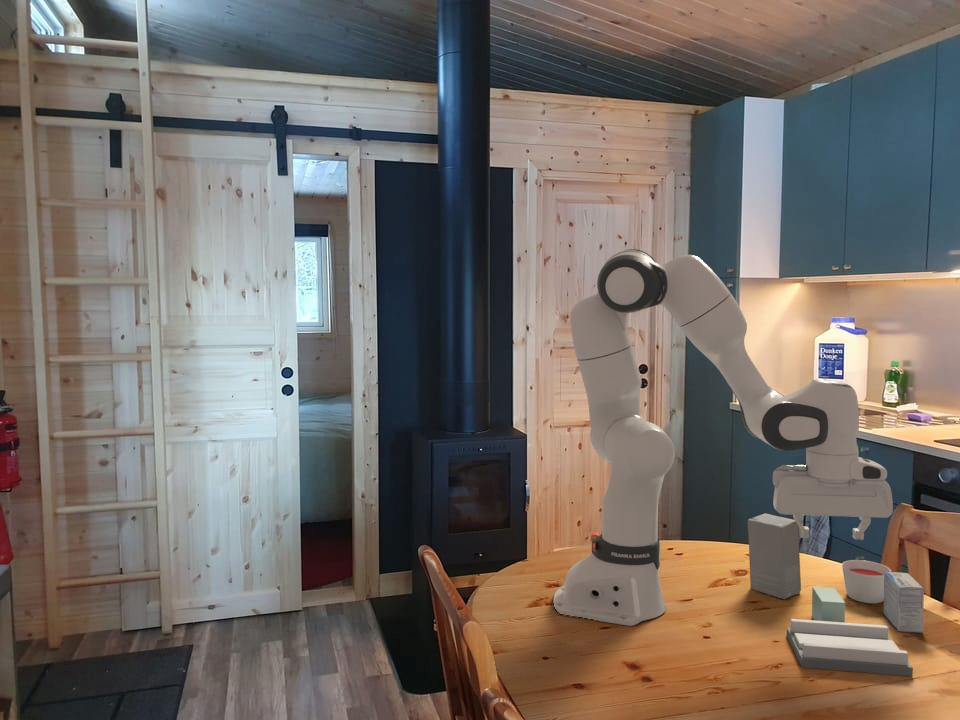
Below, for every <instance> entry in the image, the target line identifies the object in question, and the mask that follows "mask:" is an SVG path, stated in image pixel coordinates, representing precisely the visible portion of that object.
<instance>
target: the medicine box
mask: <svg viewBox="0 0 960 720" xmlns="http://www.w3.org/2000/svg"><path fill="white" fill-rule="evenodd" d="M924 595H925V594H924V587H923V586H921V584H920V583H919V582H918V581H916V579H914V578H913V577H912V576H911V574H909V573H907V572H895V571H894V572H893V571H891V572H885V575H884V601H883V614H884V616H885V617H886V618H887V619H888V621H889V622H890V623H891V624H892V625H893V627H894V628H895V629H896V630H897V631H898V632H902V633H903V632H904V633H917V634H918V633H920V634H921V633H924V597H925V596H924Z"/></svg>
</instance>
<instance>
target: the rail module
mask: <svg viewBox="0 0 960 720" xmlns="http://www.w3.org/2000/svg"><path fill="white" fill-rule="evenodd" d="M811 591H812V593H811V594H812V595H811V596H812V597H811V598H812V599H811V618H812V620H815V621H829V622H843V623H846V622H845V619H846V618H845V615H846V614H845V612H846V602H845V600H844V599H843V598H842V596H841V595H840V593H839V592H838V591H837V589H836V588H835V587H820V586H812V590H811Z"/></svg>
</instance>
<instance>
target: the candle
mask: <svg viewBox="0 0 960 720" xmlns="http://www.w3.org/2000/svg"><path fill="white" fill-rule="evenodd" d="M841 567H842V573H843V580H844V586H845V591H846V595H847V596H848V597H849V598H850V599H852V600H853V601H857V602H860V603H865V604H880V603H882V602H883V603H884V575H885V572H892V570H891V568H890V567H888V566H886V565H884V564H881V563H878V562H875V561H870V560H863V559H861V560H859V559H851V560H846V561H843V562H842V563H841Z"/></svg>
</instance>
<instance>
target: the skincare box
mask: <svg viewBox="0 0 960 720" xmlns="http://www.w3.org/2000/svg"><path fill="white" fill-rule="evenodd" d="M747 531H748V532H747V533H748V553H749V558H748V559H749V578H750V579H749V580H750V581H749V582H750V584H749V585H750V589H751V590H754V591H756V592H760V593H763V594H765V595H769V596H771V597H772V596H773V597H775V598H778V599H782V600H786V599H788V598H790V597H793V596H795V595H798V594H800V593H801V591H802V583H801V581H802V580H801V579H802V578H801V559H800V557H801V556H800V554H801V553H800V536H799V526H798V525H797V523H796V521H795V520H794V518H793V519H792V518H788V517H782V516H777V515H774V514H769V513H766V512H765V513H763V514H760V515H756V516H754V517H750V518H748V519H747Z"/></svg>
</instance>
